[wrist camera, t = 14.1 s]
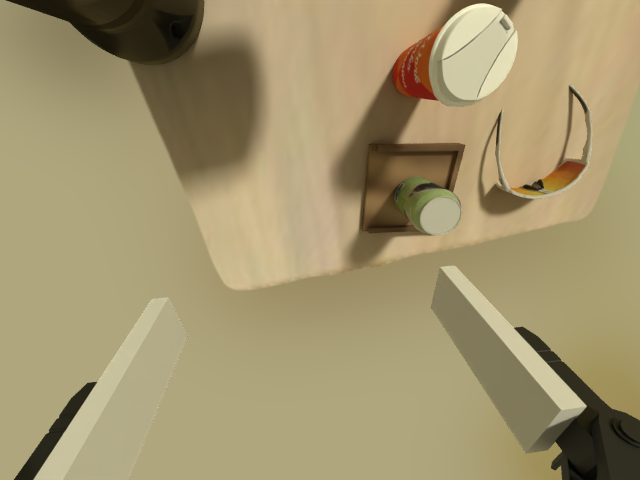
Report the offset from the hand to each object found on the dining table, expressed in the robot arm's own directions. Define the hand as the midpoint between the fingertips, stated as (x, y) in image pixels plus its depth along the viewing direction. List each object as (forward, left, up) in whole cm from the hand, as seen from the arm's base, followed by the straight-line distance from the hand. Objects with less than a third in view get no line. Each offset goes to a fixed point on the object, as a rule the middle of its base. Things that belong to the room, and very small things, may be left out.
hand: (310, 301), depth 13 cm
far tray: (+4, +18, -30) cm, 35 cm away
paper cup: (-12, +16, -30) cm, 36 cm away
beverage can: (+4, +18, -29) cm, 34 cm away
